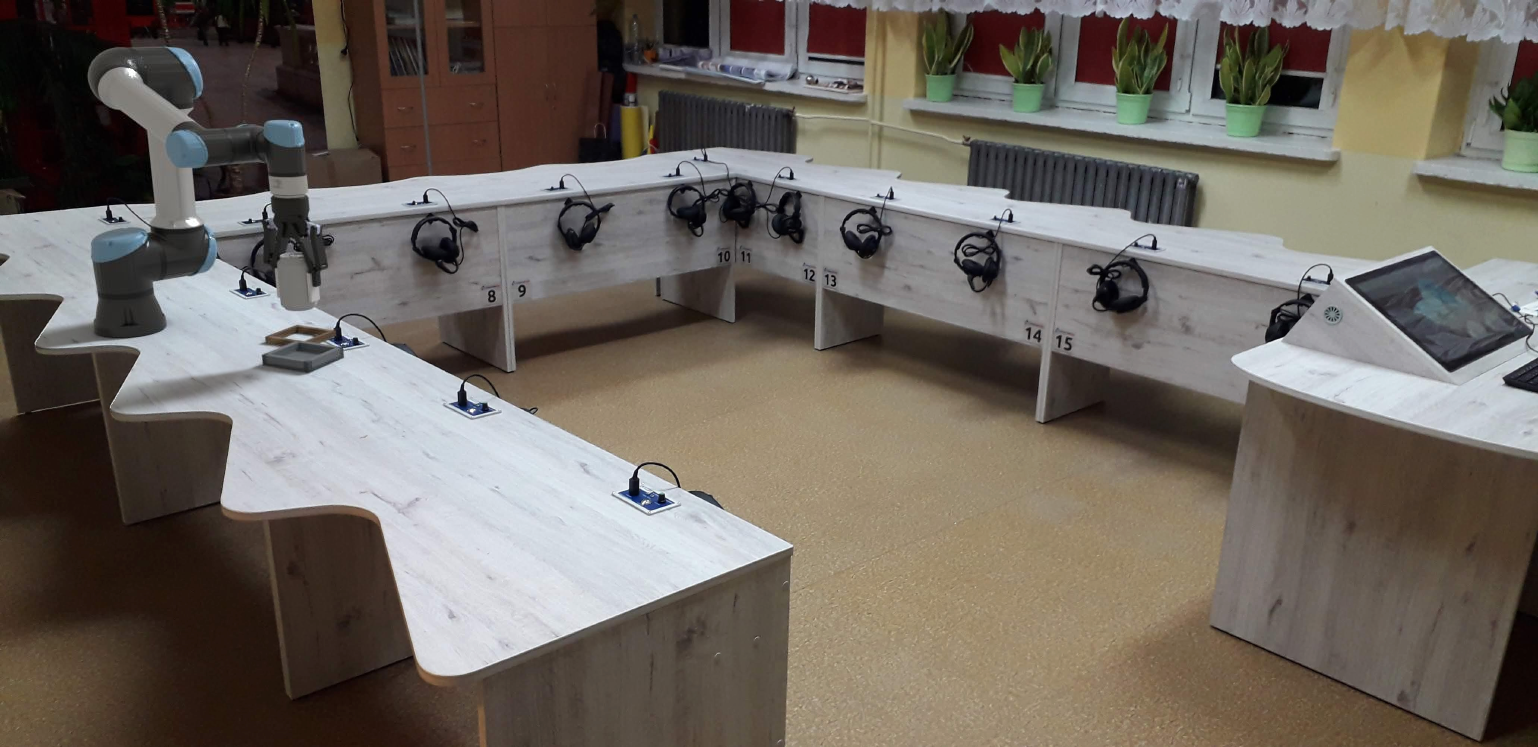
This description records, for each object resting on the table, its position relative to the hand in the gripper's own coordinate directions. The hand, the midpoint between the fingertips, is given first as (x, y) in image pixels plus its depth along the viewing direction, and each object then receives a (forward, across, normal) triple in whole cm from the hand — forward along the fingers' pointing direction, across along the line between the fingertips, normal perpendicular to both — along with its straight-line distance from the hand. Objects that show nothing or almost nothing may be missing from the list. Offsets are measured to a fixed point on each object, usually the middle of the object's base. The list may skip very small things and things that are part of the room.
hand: (298, 298), depth 245 cm
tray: (+15, 0, 0) cm, 15 cm away
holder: (+15, -11, +13) cm, 23 cm away
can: (+2, 0, 0) cm, 2 cm away
